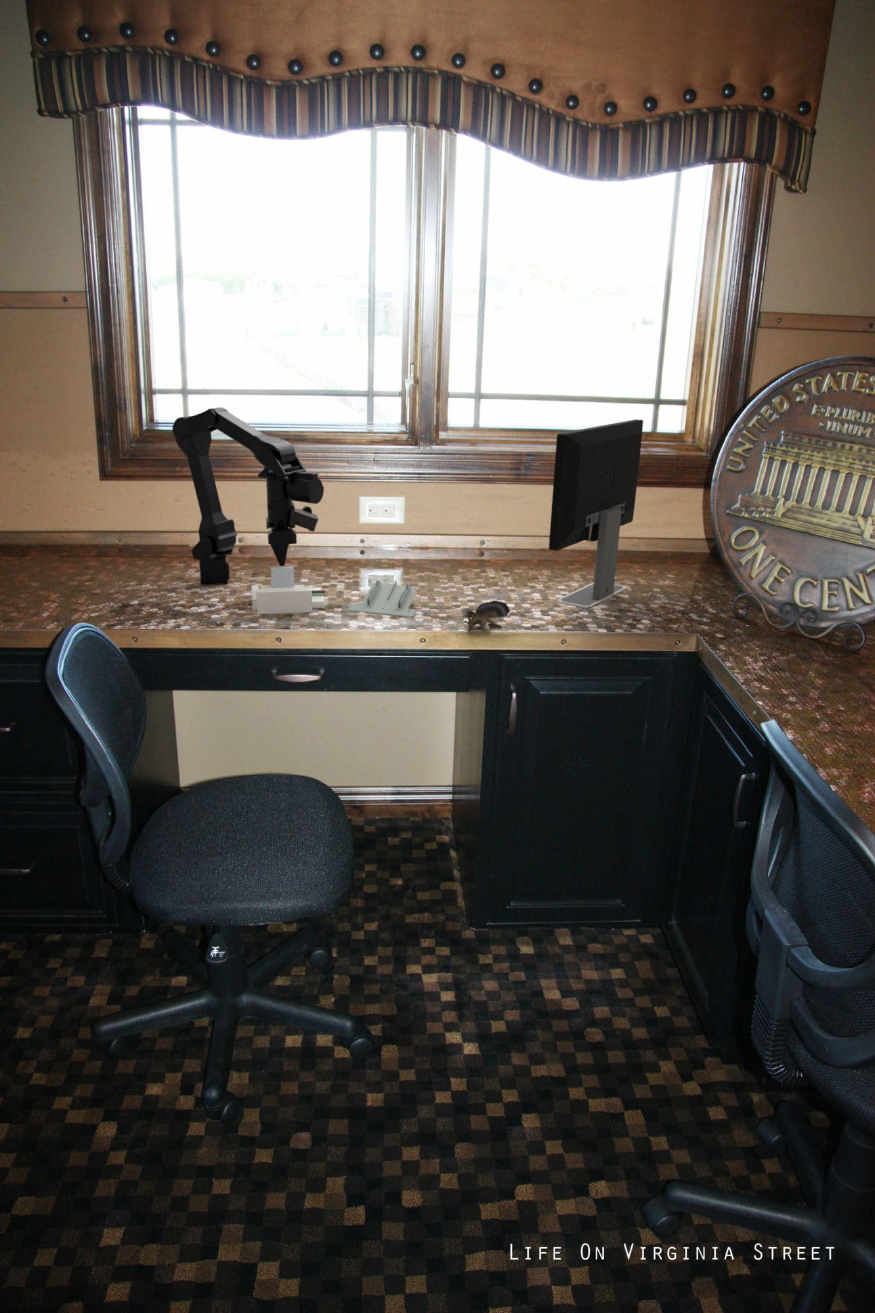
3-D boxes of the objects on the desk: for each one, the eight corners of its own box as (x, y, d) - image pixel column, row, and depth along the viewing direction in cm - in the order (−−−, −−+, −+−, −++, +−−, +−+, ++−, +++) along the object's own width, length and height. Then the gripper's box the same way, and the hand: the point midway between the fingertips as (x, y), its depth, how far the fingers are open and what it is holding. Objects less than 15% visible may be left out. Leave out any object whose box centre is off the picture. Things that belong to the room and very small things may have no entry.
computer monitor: (612, 574, 240) (628, 418, 226) (642, 580, 236) (660, 421, 221) (535, 611, 209) (547, 432, 194) (568, 619, 204) (583, 436, 190)
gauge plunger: (261, 603, 207) (260, 571, 204) (261, 598, 210) (259, 566, 208) (325, 601, 209) (325, 570, 207) (324, 596, 213) (323, 565, 210)
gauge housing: (252, 614, 201) (251, 592, 199) (252, 595, 214) (251, 575, 212) (325, 611, 204) (325, 590, 202) (320, 593, 217) (320, 573, 215)
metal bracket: (365, 573, 214) (427, 579, 211) (367, 594, 218) (428, 600, 214) (345, 607, 203) (411, 613, 200) (348, 628, 207) (412, 635, 203)
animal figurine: (485, 634, 189) (516, 619, 194) (470, 604, 189) (501, 589, 194) (467, 644, 196) (497, 628, 201) (452, 614, 196) (482, 599, 201)
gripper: (318, 506, 200) (320, 575, 205) (312, 490, 217) (314, 554, 222) (267, 507, 198) (269, 577, 203) (264, 491, 215) (267, 555, 220)
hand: (282, 565), depth 212 cm, fingers closed
